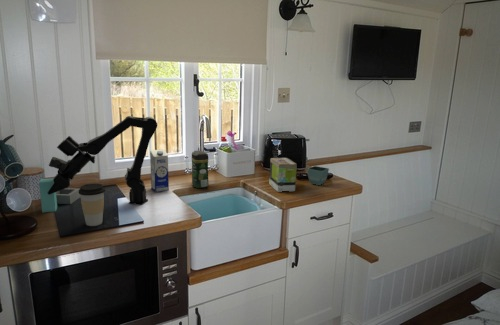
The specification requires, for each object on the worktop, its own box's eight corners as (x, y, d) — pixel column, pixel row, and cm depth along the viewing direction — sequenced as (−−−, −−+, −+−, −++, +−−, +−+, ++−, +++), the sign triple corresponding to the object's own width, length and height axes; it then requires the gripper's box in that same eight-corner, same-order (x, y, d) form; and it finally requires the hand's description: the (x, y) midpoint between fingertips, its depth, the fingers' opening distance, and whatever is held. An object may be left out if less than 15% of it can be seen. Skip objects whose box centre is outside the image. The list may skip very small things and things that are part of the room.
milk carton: (164, 186, 193) (163, 148, 188) (169, 190, 188) (168, 151, 183) (151, 188, 190) (149, 150, 185) (155, 192, 184) (154, 152, 179)
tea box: (295, 191, 192) (297, 163, 188) (277, 192, 189) (278, 164, 186) (286, 183, 206) (287, 156, 202) (268, 183, 203) (269, 157, 200)
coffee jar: (190, 183, 199) (189, 149, 195) (204, 182, 202) (204, 148, 198) (195, 189, 191) (195, 153, 186) (210, 187, 194) (210, 152, 190)
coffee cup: (86, 218, 150) (83, 182, 146) (110, 218, 151) (107, 182, 147) (77, 228, 141) (74, 190, 137) (103, 228, 142) (100, 190, 138)
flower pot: (313, 181, 211) (314, 165, 209) (328, 184, 206) (329, 168, 204) (306, 184, 204) (307, 168, 202) (321, 187, 199) (322, 171, 197)
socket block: (80, 196, 175) (80, 188, 174) (70, 204, 165) (69, 195, 164) (59, 196, 175) (58, 187, 174) (47, 203, 165) (47, 194, 164)
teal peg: (57, 207, 161) (54, 178, 158) (55, 211, 156) (52, 181, 153) (44, 208, 159) (41, 179, 156) (42, 212, 155) (38, 182, 152)
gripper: (63, 146, 162) (37, 172, 161) (57, 155, 145) (28, 184, 144) (84, 163, 167) (59, 188, 166) (81, 174, 150) (53, 202, 149)
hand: (50, 190), depth 156 cm, fingers open, 9 cm apart
